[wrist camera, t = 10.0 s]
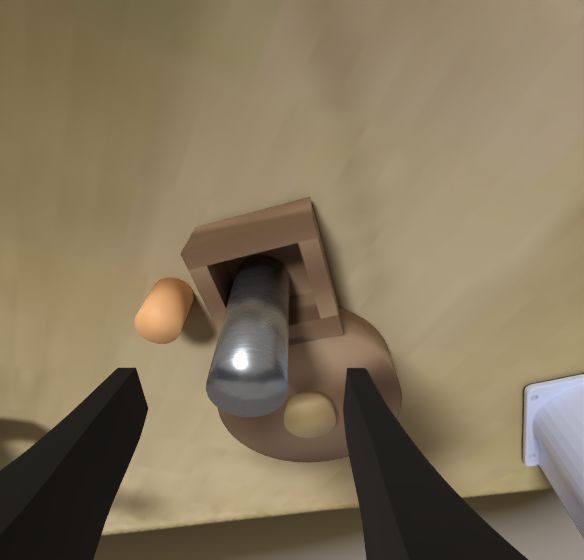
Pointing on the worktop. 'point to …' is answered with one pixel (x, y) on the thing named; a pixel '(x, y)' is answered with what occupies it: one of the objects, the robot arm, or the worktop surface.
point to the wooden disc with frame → (294, 331)
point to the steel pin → (253, 341)
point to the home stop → (164, 311)
